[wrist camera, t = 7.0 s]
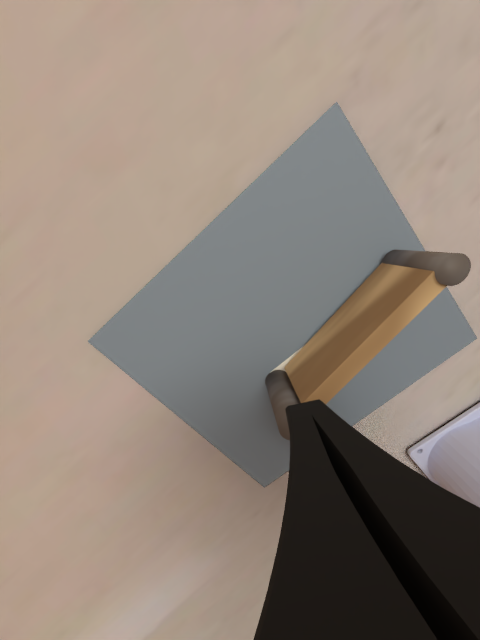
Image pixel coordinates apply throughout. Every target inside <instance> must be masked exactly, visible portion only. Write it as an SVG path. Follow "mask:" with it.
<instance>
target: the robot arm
mask: <svg viewBox="0 0 480 640" xmlns="http://www.w3.org/2000/svg"><path fill="white" fill-rule="evenodd" d="M285 411H286V416H287V422H288V427H289V433H290V463H289V478H288V488H287V496H286V503H285V510H284V516H283V522H282V528H281V533H280V538H279V543H278V548H277V553H276V557H275V561H274V565H273V570H272V574H271V578H270V582H269V586H268V591H267V594H266V598H265V602H264V606H263V609H262V612H261V616H260V619H259V623H258V626H257V630H256V633H255V637H254V640H480V402H479V403H478V404H476V405H475V406H473V407H472V408H470V409H469V410H467V411H466V412H464V413H463V414H461V415H460V416H458V417H456V418H455V419H453V420H452V421H450V422H449V423H447V424H446V425H444V426H443V427H441V428H440V429H438V430H437V431H435V432H434V433H432V434H431V435H429V436H427V437H426V438H424V439H423V440H421V441H420V442H418V443H417V444H415V445H414V446H412V447H411V448H409V449H408V451H407V453H408V455H409V456H410V457H411V458H412V460H413V461H414V462H415V463H416V464H417V465H418V467H419V468H420V469H421V470H422V471H423V472H424V474H425V475H426V476H427V477H428V478H429V479H430V480H429V479H427V478H425V477H424V476H422V475H420V474H419V473H417V472H416V471H414V470H412V469H411V468H409V467H408V466H406V465H404V464H403V463H401V462H400V461H398V460H397V459H395V458H394V457H392V456H391V455H390V454H388V453H387V452H385V451H384V450H382V449H381V448H380V447H378V446H377V445H375V444H374V443H373V442H371V441H370V440H369V439H367V438H366V437H365V436H363V435H362V434H361V433H360V432H358V431H357V430H356V429H354V428H353V427H352V426H351V425H349V424H348V423H347V422H346V421H344V420H343V419H342V418H341V417H340V416H338V415H337V414H336V413H335V412H334V411H333V410H331V409H330V408H329V407H328V406H327V405H326V404H325V403H324V402H323V401H321V400H320V399H318V400H313V401H308V402H304V403H299V404H294V405H290V406H287V407H286V409H285Z"/></svg>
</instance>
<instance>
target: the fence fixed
mask: <svg viewBox="0 0 480 640" xmlns="http://www.w3.org/2000/svg"><path fill="white" fill-rule="evenodd" d="M265 384H266V387H267V391H268V394H269V398H270V401H271V405H272V408H273V412H274V415H275V419H276V422H277V426H278V429H279V433H280V435H281V436H282V437H283V438H284V439H286V440H290V433H289V427H288V422H287V416H286V411H285V409H286V407H287V406H290V405H294V404H299V403H301V402H300V400H299V398H298V396H297V394H296V392H295V389H294V387H293V385H292V383H291V381H290V379H289V377H288V375H287V372H285V371H283V370H274V371H272V372H270V373H269V374H268V375H267V377H266V379H265Z"/></svg>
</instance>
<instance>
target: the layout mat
mask: <svg viewBox="0 0 480 640" xmlns="http://www.w3.org/2000/svg"><path fill="white" fill-rule="evenodd" d="M391 250H412V251H425V250H424V248H423V246H422V244H421V243H420V241H419V239H418V238H417V236H416V234H415V233H414V231H413V229H412V228H411V226H410V224H409V223H408V221H407V219H406V218H405V216H404V214H403V212H402V211H401V209H400V207H399V206H398V204H397V202H396V201H395V199H394V197H393V196H392V194H391V192H390V191H389V189H388V187H387V186H386V184H385V182H384V180H383V179H382V177H381V175H380V174H379V172H378V170H377V169H376V167H375V165H374V164H373V162H372V160H371V159H370V157H369V155H368V153H367V152H366V150H365V148H364V147H363V145H362V143H361V142H360V140H359V138H358V137H357V135H356V133H355V132H354V130H353V128H352V127H351V125H350V123H349V121H348V120H347V118H346V116H345V115H344V113H343V111H342V110H341V108H340V106H339V105H338V103H337V102H336V103H335V104H334V105H333V106H332V107H331V108H330V109H329V110H328V111H327V112H325V113H324V114H323V115H322V116H321V117H320V118H319V119H318V120H317V121H316V122H315V123H314V124H313V125H312V126H311V127H310V128H309V129H308V130H307V131H306V132H305V133H304V134H303V135H302V136H301V137H299V138H298V139H297V140H296V141H295V142H294V143H293V144H292V145H291V146H290V147H289V148H288V149H287V150H286V151H285V152H284V153H283V154H282V155H281V156H280V157H279V158H278V159H277V160H276V161H275V162H274V163H272V164H271V165H270V166H269V167H268V168H267V169H266V170H265V171H264V172H263V173H262V174H261V175H260V176H259V177H258V178H257V179H256V180H255V181H254V182H253V183H252V184H251V185H250V186H249V187H248V188H247V189H245V190H244V191H243V192H242V193H241V194H240V195H239V196H238V197H237V198H236V199H235V200H234V201H233V202H232V203H231V204H230V205H229V206H228V207H227V208H226V209H225V210H224V211H223V212H222V213H221V214H219V215H218V216H217V217H216V218H215V219H214V220H213V221H212V222H211V223H210V224H209V225H208V226H207V227H206V228H205V229H204V230H203V231H202V232H201V233H200V234H199V235H198V236H197V237H196V238H195V239H194V240H192V241H191V242H190V243H189V244H188V245H187V246H186V247H185V248H184V249H183V250H182V251H181V252H180V253H179V254H178V255H177V256H176V257H175V258H174V259H173V260H172V261H171V262H170V263H169V264H168V265H167V266H165V267H164V268H163V269H162V270H161V271H160V272H159V273H158V274H157V275H156V276H155V277H154V278H153V279H152V280H151V281H150V282H149V283H148V284H147V285H146V286H145V287H144V288H143V289H142V290H141V291H139V292H138V293H137V294H136V295H135V296H134V297H133V298H132V299H131V300H130V301H129V302H128V303H127V304H126V305H125V306H124V307H123V308H122V309H121V310H120V311H119V312H118V313H117V314H116V315H115V316H114V317H112V318H111V319H110V320H109V321H108V322H107V323H106V324H105V325H104V326H103V327H102V328H101V329H100V330H99V331H98V332H97V333H96V334H95V335H94V336H93V337H92V338H91V339H90V340H89V341H88V342H89V343H90V344H91V345H93V346H94V347H95V348H96V349H97V350H99V351H100V352H101V353H102V354H103V355H105V356H106V357H107V358H108V359H109V360H111V361H112V362H113V363H114V364H116V365H117V366H118V367H119V368H120V369H122V370H123V371H124V372H125V373H126V374H128V375H129V376H130V377H131V378H132V379H134V380H135V381H136V382H137V383H139V384H140V385H141V386H142V387H143V388H145V389H146V390H147V391H148V392H149V393H151V394H152V395H153V396H154V397H155V398H157V399H158V400H159V401H160V402H161V403H163V404H164V405H165V406H166V407H168V408H169V409H170V410H171V411H172V412H174V413H175V414H176V415H177V416H178V417H180V418H181V419H182V420H183V421H184V422H186V423H187V424H188V425H189V426H191V427H192V428H193V429H194V430H195V431H197V432H198V433H199V434H200V435H201V436H203V437H204V438H205V439H206V440H207V441H209V442H210V443H211V444H212V445H214V446H215V447H216V448H217V449H218V450H220V451H221V452H222V453H223V454H224V455H226V456H227V457H228V458H229V459H230V460H232V461H233V462H234V463H235V464H237V465H238V466H239V467H240V468H241V469H243V470H244V471H245V472H246V473H247V474H249V475H250V476H251V477H252V478H253V479H255V480H256V481H257V482H258V483H259V484H261V485H262V486H263V487H266V486H267V485H269V484H270V483H272V482H273V481H274V480H276V479H277V478H279V477H280V476H282V475H283V474H284V473H286V472H287V471H289V463H290V440H286V439H284V438H283V437H282V436H281V435H280V433H279V429H278V426H277V422H276V419H275V415H274V412H273V408H272V405H271V401H270V398H269V394H268V391H267V387H266V384H265V379H266V377H267V375H268V374H269V373H270V372H272V371H274V370H283V371H285V372H286V370H285V368H284V367H285V366H286V365H287V364H288V363H289V362H290V361H291V360H292V359H293V357H294V356H295V355H296V354H297V353H298V352H299V351H300V350H301V349H302V348H303V347H304V346H305V345H306V344H307V342H308V341H309V340H310V339H311V338H312V337H313V336H314V335H315V334H316V333H317V332H318V331H319V330H320V329H321V327H322V326H323V325H324V324H325V323H326V322H327V321H328V320H329V319H330V318H331V317H332V316H333V315H334V314H335V312H336V311H337V310H338V309H339V308H340V307H341V306H342V305H343V304H344V303H345V302H346V301H347V300H348V298H349V297H350V296H351V295H352V294H353V293H354V292H355V291H356V290H357V289H358V288H359V287H360V286H361V285H362V283H363V282H364V281H365V280H366V279H367V278H368V277H369V276H370V275H371V274H372V273H373V272H374V271H375V270H376V268H377V267H378V266H379V265H380V264H381V263H382V261H383V258H384V256H385V255H386V254H387V253H388V252H389V251H391ZM476 339H477V337H476V335H475V334H474V332H473V330H472V329H471V327H470V325H469V324H468V322H467V320H466V319H465V317H464V315H463V314H462V312H461V310H460V308H459V307H458V305H457V303H456V302H455V300H454V298H453V297H452V295H451V293H450V292H449V290H448V288H447V287H445V288H444V289H443V290H442V291H441V292H440V293H439V294H438V295H437V296H436V297H435V298H434V299H433V300H432V301H431V302H430V303H429V304H428V305H427V306H426V307H425V308H424V309H423V310H422V311H421V312H420V313H419V314H418V315H417V316H416V317H415V318H414V319H413V320H412V321H411V322H410V323H409V324H408V325H407V326H406V327H405V328H403V329H402V330H401V331H400V332H399V333H398V334H397V335H396V336H395V337H394V338H393V339H392V340H391V341H390V342H389V343H388V344H387V345H386V346H385V347H384V348H383V349H382V350H381V351H380V352H379V353H378V354H377V355H376V356H375V357H374V358H373V359H372V360H371V361H370V362H369V363H368V364H367V365H366V366H365V367H364V368H363V369H362V370H361V371H360V372H359V373H357V374H356V375H355V376H354V377H353V378H352V379H351V380H350V381H349V382H348V383H347V384H346V385H345V386H344V387H343V388H342V389H341V390H340V391H339V392H338V393H337V394H336V395H335V396H334V397H333V398H332V399H331V400H330V401H329V402H328V403H327V404H326V405H327V406H328V407H329V408H330V409H331V410H333V411H334V412H335V413H336V414H337V415H338V416H340V417H341V418H342V419H343V420H344V421H346V422H347V423H348V424H349V425H351V426H353V425H354V424H356V423H357V422H359V421H360V420H361V419H363V418H364V417H366V416H367V415H369V414H370V413H371V412H373V411H374V410H376V409H377V408H379V407H380V406H381V405H383V404H384V403H386V402H387V401H389V400H390V399H391V398H393V397H394V396H396V395H397V394H399V393H400V392H401V391H403V390H404V389H406V388H407V387H409V386H410V385H411V384H413V383H414V382H416V381H417V380H418V379H420V378H421V377H423V376H424V375H426V374H427V373H428V372H430V371H431V370H433V369H434V368H436V367H437V366H438V365H440V364H441V363H443V362H444V361H446V360H447V359H448V358H450V357H451V356H453V355H454V354H456V353H457V352H458V351H460V350H461V349H463V348H464V347H466V346H467V345H468V344H470V343H471V342H473V341H474V340H476Z"/></svg>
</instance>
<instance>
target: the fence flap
mask: <svg viewBox="0 0 480 640" xmlns="http://www.w3.org/2000/svg"><path fill="white" fill-rule="evenodd" d="M470 268H471V263H470V260H469V258H468V257H467V256H466V255H464V254H460V253H444V252H428V251H412V250H391V251H389V252H388V253H387V254H386V255H385V256H384V258H383V261H382V263H381V264H380V265H379V266H378V267H377V268H376V270H375V271H374V272H373V273H372V274H371V275H370V276H369V277H368V278H367V279H366V280H365V281H364V282H363V283H362V285H361V286H360V287H359V288H358V289H357V290H356V291H355V292H354V293H353V294H352V295H351V296H350V297H349V298H348V300H347V301H346V302H345V303H344V304H343V305H342V306H341V307H340V308H339V309H338V310H337V311H336V312H335V314H334V315H333V316H332V317H331V318H330V319H329V320H328V321H327V322H326V323H325V324H324V325H323V326H322V327H321V329H320V330H319V331H318V332H317V333H316V334H315V335H314V336H313V337H312V338H311V339H310V340H309V341H308V342H307V344H306V345H305V346H304V347H303V348H302V349H301V350H300V351H299V352H298V353H297V354H296V355H295V356H294V357H293V359H292V360H291V361H290V362H289V363H288V364H287V365H286V366H285V367H284V368H285V370H286V372H287V375H288V377H289V379H290V381H291V383H292V385H293V387H294V389H295V392H296V394H297V396H298V398H299V400H300V402H301V403H304V402H308V401H313V400H318V399H320V400H321V401H323V402H324V403H325V404H327V403H328V402H329V401H330V400H331V399H332V398H333V397H334V396H335V395H336V394H337V393H338V392H339V391H340V390H341V389H342V388H343V387H344V386H345V385H346V384H347V383H348V382H349V381H350V380H351V379H352V378H353V377H354V376H355V375H356V374H357V373H359V372H360V371H361V370H362V369H363V368H364V367H365V366H366V365H367V364H368V363H369V362H370V361H371V360H372V359H373V358H374V357H375V356H376V355H377V354H378V353H379V352H380V351H381V350H382V349H383V348H384V347H385V346H386V345H387V344H388V343H389V342H390V341H391V340H392V339H393V338H394V337H395V336H396V335H397V334H398V333H399V332H400V331H401V330H402V329H403V328H405V327H406V326H407V325H408V324H409V323H410V322H411V321H412V320H413V319H414V318H415V317H416V316H417V315H418V314H419V313H420V312H421V311H422V310H423V309H424V308H425V307H426V306H427V305H428V304H429V303H430V302H431V301H432V300H433V299H434V298H435V297H436V296H437V295H438V294H439V293H440V292H441V291H442V290H443V289H444V288H445V287H446V286H447V285H448V286H453V285H457V284H459V283H461V282H462V281H463V280H464V279H465V278H466V277H467V275H468V274H469V271H470Z"/></svg>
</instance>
